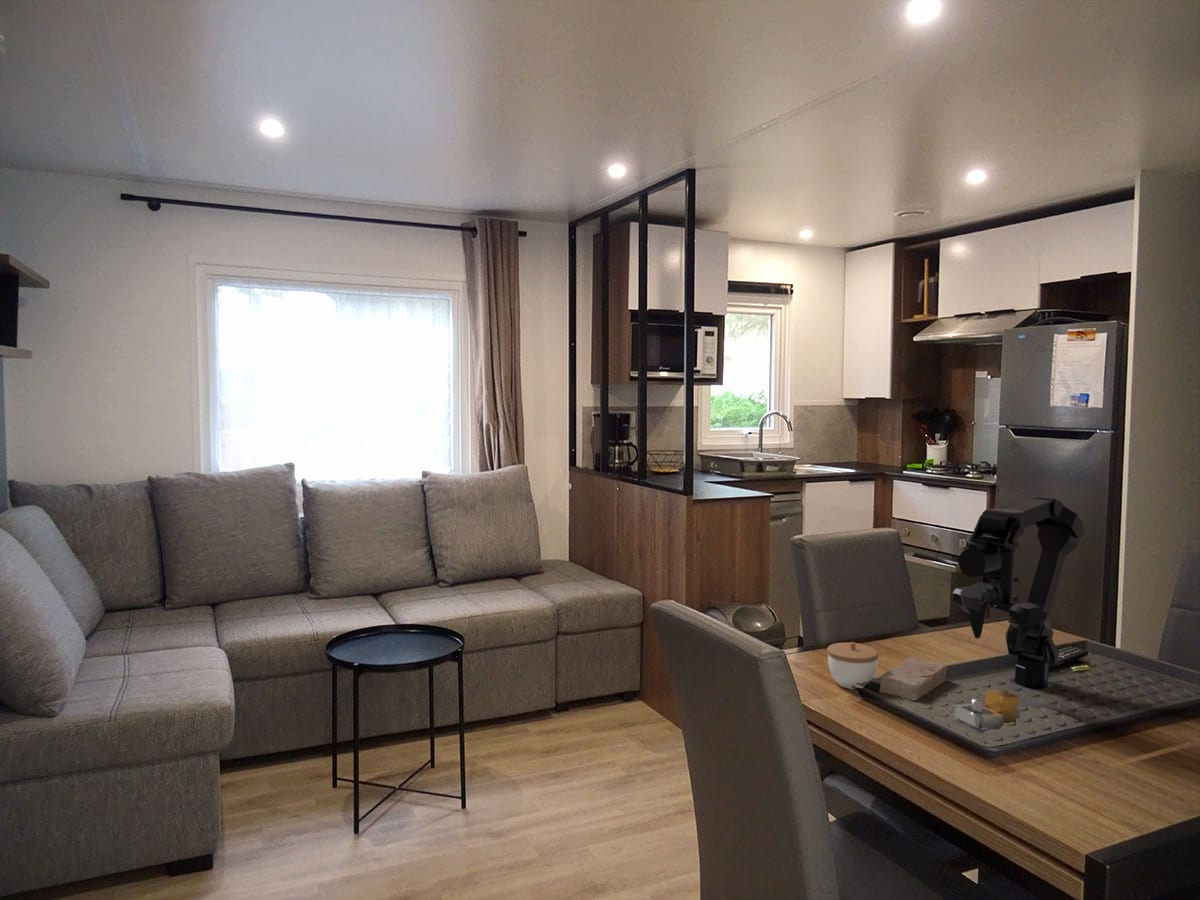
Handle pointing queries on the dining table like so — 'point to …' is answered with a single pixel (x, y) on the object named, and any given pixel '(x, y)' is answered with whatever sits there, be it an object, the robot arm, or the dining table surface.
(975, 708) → the metal knob
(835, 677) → the lidded jar
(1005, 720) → the grey and orange frame
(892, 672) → the brick
